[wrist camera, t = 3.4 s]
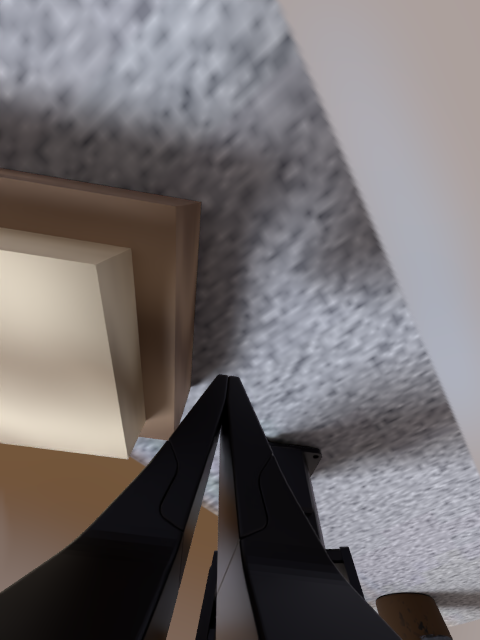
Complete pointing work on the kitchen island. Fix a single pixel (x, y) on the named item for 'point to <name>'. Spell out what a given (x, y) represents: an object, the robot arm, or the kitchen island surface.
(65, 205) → the panel
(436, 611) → the olive oil
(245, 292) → the kitchen island surface
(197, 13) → the kitchen island surface
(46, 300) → the cream rectangular block
